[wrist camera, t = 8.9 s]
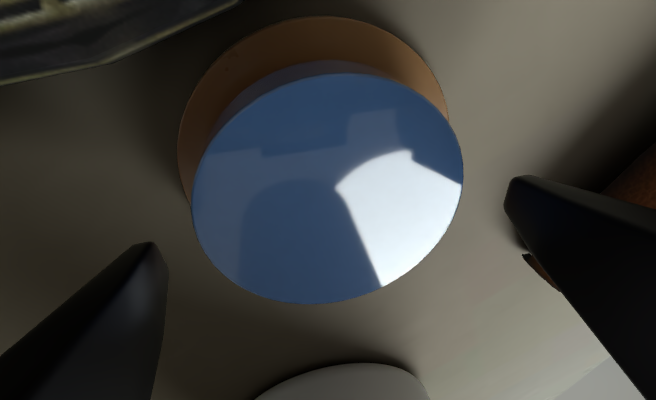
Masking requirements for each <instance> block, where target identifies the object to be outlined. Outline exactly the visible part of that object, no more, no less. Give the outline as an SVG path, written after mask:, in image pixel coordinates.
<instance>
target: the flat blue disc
mask: <svg viewBox="0 0 656 400" xmlns="http://www.w3.org/2000/svg"><path fill="white" fill-rule="evenodd" d="M462 186H463V161H462V155H461V150H460V146H459V144H458V141H457V138H456V135H455V133H454V131H453V129H452V128H451V126H450V124H449V122H448V120H447V119H446V118H445V117H444V115H443V114H442V113H441V112H440V111H439V109H438V108H437V107H436V106H435V105H434V104H432V103H431V102H430V101H429V100H428V99H427V98H426V97H424V96H423V95H422V94H420V93H419V92H417V91H416V90H414V89H413V88H411V87H410V86H408V85H407V84H405V83H404V82H402V81H400V80H399V79H397V78H396V77H394V76H392V75H391V74H389V73H387V72H385V71H382V70H380V69H378V68H375V67H373V66H370V65H366V64H362V63H358V62H354V61H343V60H318V61H310V62H305V63H300V64H295V65H292V66H289V67H286V68H283V69H281V70H278V71H275V72H273V73H271V74H269V75H267V76H265V77H263V78H262V79H260V80H258V81H256V82H255V83H254V84H252V85H251V86H249V87H248V88H246V89H245V90H244V91H242V92H241V93H240V94H239V95H238V96H237V97H236V98H235V99H234V100H233V101H232V102H231V103H229V104H228V106H227V107H226V108H225V109H224V111H223V112H222V113H221V114H220V116H219V117H218V118H217V120H216V122H215V123H214V125H213V127H212V129H211V130H210V132H209V134H208V136H207V139H206V141H205V144H204V147H203V149H202V152H201V156H200V159H199V162H198V165H197V169H196V172H195V175H194V180H193V185H192V190H191V215H192V222H193V226H194V230H195V233H196V236H197V239H198V241H199V243H200V245H201V247H202V249H203V251H204V253H205V254H206V255H207V257H208V258H209V259H210V261H211V262H212V264H213V265H214V266H215V267H216V268H217V269H218V270H219V271H220V272H221V273H222V274H223V275H224V276H226V277H227V278H228V279H229V280H231V281H232V282H233V283H235V284H236V285H238V286H240V287H242V288H243V289H245V290H247V291H249V292H252V293H254V294H256V295H258V296H261V297H265V298H268V299H271V300H275V301H280V302H285V303H294V304H324V303H333V302H339V301H344V300H348V299H352V298H356V297H359V296H362V295H365V294H368V293H370V292H373V291H375V290H377V289H379V288H382V287H384V286H386V285H387V284H389V283H391V282H393V281H395V280H396V279H398V278H399V277H401V276H403V275H404V274H406V273H407V272H408V271H410V270H411V269H412V268H413V267H415V266H416V265H417V264H418V263H419V262H421V261H422V260H423V259H424V258H425V257H426V256H427V255H428V254H429V253H430V252H431V250H432V249H433V248H434V247H435V246H436V245H437V244H438V242H439V241H440V239H441V238H442V237H443V235H444V234H445V232H446V231H447V229H448V227H449V225H450V223H451V222H452V220H453V217H454V215H455V212H456V210H457V208H458V204H459V201H460V197H461V193H462Z"/></svg>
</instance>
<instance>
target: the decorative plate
mask: <svg viewBox="0 0 656 400" xmlns="http://www.w3.org/2000/svg"><path fill="white" fill-rule="evenodd" d="M243 1H244V0H0V86H5V85H10V84H15V83H19V82H24V81H29V80H34V79H39V78H44V77H49V76H54V75H58V74H63V73H68V72H73V71H78V70H83V69H88V68H92V67H97V66H102V65H107V64H112V63H115V62H117V61H119V60H121V59H124V58H126V57H128V56H130V55H132V54H134V53H137V52H139V51H141V50H143V49H145V48H147V47H150V46H152V45H154V44H156V43H158V42H160V41H163V40H165V39H167V38H169V37H171V36H174V35H176V34H178V33H180V32H182V31H184V30H187V29H189V28H191V27H193V26H195V25H197V24H200V23H202V22H204V21H206V20H208V19H210V18H213V17H215V16H217V15H219V14H221V13H223V12H226V11H228V10H230V9H232V8H234V7H236V6H238V5H239V4H240V3H242V2H243Z"/></svg>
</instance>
